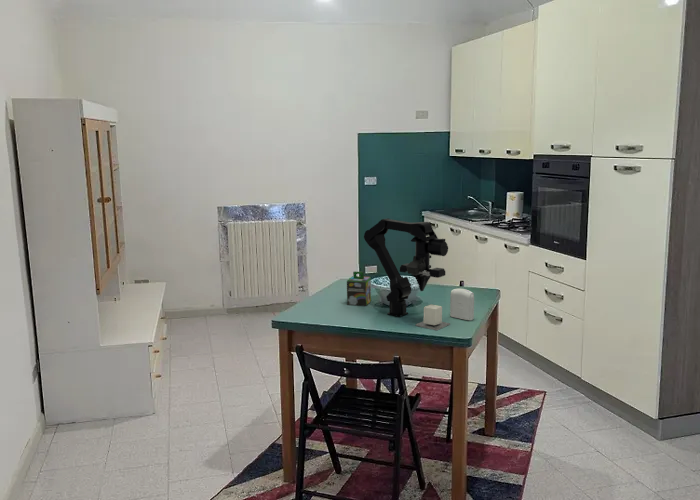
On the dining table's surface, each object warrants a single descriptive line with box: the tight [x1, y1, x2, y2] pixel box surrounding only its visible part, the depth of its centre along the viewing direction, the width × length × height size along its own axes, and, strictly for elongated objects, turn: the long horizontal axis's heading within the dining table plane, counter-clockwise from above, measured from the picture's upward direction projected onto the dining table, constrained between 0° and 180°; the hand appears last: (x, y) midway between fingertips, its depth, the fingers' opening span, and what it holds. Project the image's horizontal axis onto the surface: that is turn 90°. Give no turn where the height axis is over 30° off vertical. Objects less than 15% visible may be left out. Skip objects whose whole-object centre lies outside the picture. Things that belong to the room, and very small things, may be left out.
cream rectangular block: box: [423, 303, 443, 325], centre depth 253 cm, size 5×5×7 cm
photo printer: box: [449, 288, 475, 321], centre depth 262 cm, size 10×4×12 cm, turn 47°
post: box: [414, 320, 451, 331], centre depth 253 cm, size 10×10×7 cm
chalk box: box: [346, 271, 372, 307], centre depth 286 cm, size 9×9×15 cm
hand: (421, 290), depth 259 cm, fingers closed
